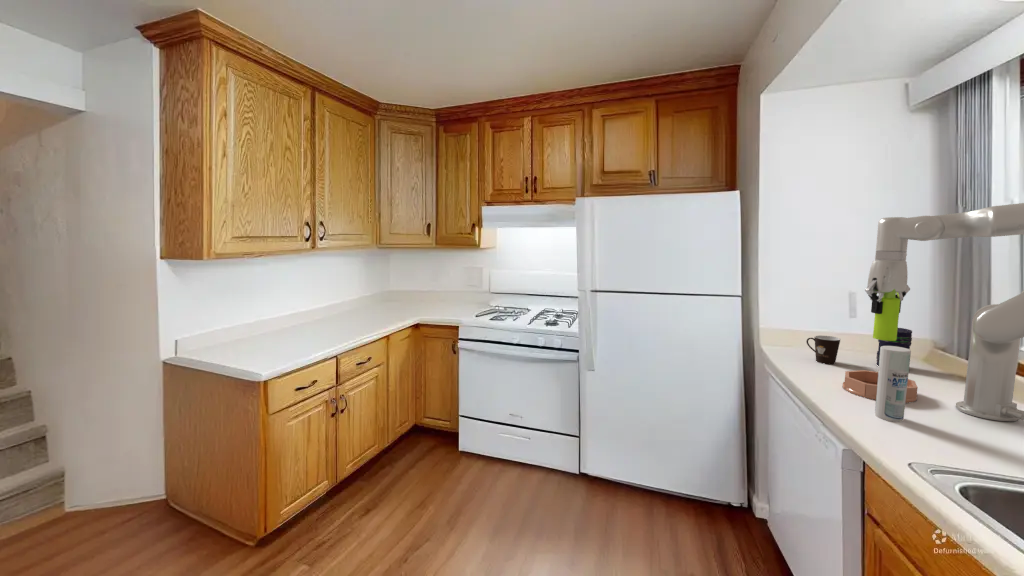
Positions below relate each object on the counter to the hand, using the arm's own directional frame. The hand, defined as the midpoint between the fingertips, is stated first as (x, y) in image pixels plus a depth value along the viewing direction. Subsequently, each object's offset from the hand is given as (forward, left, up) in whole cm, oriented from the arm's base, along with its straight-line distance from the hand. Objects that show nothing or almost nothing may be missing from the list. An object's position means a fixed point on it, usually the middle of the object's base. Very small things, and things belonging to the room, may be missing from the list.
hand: (885, 312), depth 145 cm
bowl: (0, 0, -27) cm, 27 cm away
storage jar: (+23, -31, -27) cm, 47 cm away
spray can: (-18, +16, -27) cm, 36 cm away
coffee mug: (+35, -12, -27) cm, 46 cm away
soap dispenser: (0, 0, -9) cm, 9 cm away
